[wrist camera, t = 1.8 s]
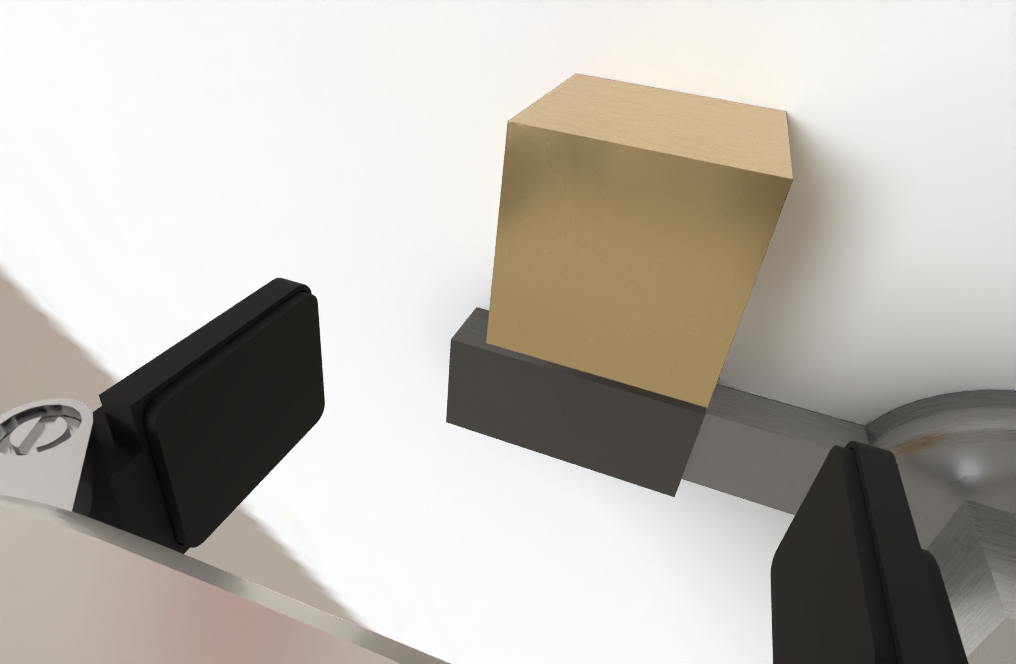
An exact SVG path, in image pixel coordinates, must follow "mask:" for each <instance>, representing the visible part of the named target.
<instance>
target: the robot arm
mask: <svg viewBox="0 0 1016 664" xmlns="http://www.w3.org/2000/svg"><path fill="white" fill-rule="evenodd" d="M99 397H100V400H101V403H102V406H101V407H100V408H98V409H97V410H96V411H94V412H92V411H91V409H90V408H89V407H88V406H87V405H86V404H84V403H81V402H80V401H77V400H72V399H65V398H61V399H60V398H59V399H46V400H40V401H35V402H31V403H28V404H25V405H22V406H19V407H17V408H14V409H12V410H10V411H9V412H6V413H4V414H3V415H1V416H0V664H450V663H447V662H445V661H443V660H440V659H438V658H435V657H433V656H431V655H428V654H426V653H423V652H421V651H418V650H416V649H414V648H411V647H409V646H406V645H404V644H402V643H399V642H397V641H394V640H392V639H389V638H387V637H385V636H382V635H380V634H377V633H375V632H373V631H370V630H368V629H365V628H363V627H360V626H358V625H356V624H353V623H351V622H348V621H346V620H343V619H341V618H338V617H336V616H334V615H331V614H329V613H326V612H324V611H322V610H319V609H317V608H314V607H312V606H309V605H307V604H305V603H302V602H300V601H297V600H295V599H292V598H290V597H288V596H285V595H282V594H280V593H278V592H275V591H273V590H270V589H268V588H265V587H263V586H260V585H258V584H256V583H253V582H251V581H248V580H246V579H243V578H241V577H238V576H236V575H234V574H231V573H228V572H226V571H224V570H221V569H219V568H216V567H214V566H211V565H209V564H206V563H204V562H202V561H199V560H197V559H194V558H192V557H189V556H187V555H184V553H185V552H186V551H187V550H188V549H189V548H190V547H192V548H193V547H197V546H199V545H200V544H202V543H203V542H204V541H205V540H206V539H207V538H208V537H209V536H210V535H211V534H212V533H213V532H214V530H215V529H216V528H217V527H218V526H219V525H220V524H221V523H222V522H223V521H224V520H225V519H226V518H227V517H228V516H229V515H230V514H231V513H232V512H233V510H234V509H235V508H236V507H237V506H238V505H239V504H240V503H241V502H242V501H243V500H244V499H245V498H246V497H247V496H248V495H249V494H250V493H251V491H252V490H253V489H254V488H255V487H256V486H257V485H258V484H259V483H260V482H261V481H262V480H263V479H264V478H265V477H266V476H267V475H268V474H269V473H270V471H271V470H272V469H273V468H274V467H275V466H276V465H277V464H278V463H279V462H280V461H281V460H282V459H283V458H284V457H285V456H286V455H287V454H288V452H289V451H290V450H291V449H292V448H293V447H294V446H295V445H296V444H297V443H298V442H299V441H300V440H301V439H302V438H303V437H304V436H305V435H306V433H307V432H308V431H309V430H310V429H311V428H312V427H313V426H314V425H315V424H316V423H317V422H318V421H319V419H320V418H321V416H322V413H323V411H324V406H325V399H324V385H323V371H322V357H321V342H320V328H319V314H318V302H317V298H316V297H315V296H314V295H312V293H311V290H310V288H309V287H308V286H307V285H304V284H301V283H297V282H294V281H290V280H287V279H283V278H276V279H274V280H272V281H271V282H269V283H268V284H266V285H265V286H263V287H262V288H260V289H259V290H257V291H256V292H254V293H253V294H251V295H249V296H248V297H246V298H245V299H243V300H242V301H240V302H239V303H237V304H236V305H234V306H233V307H231V308H230V309H228V310H227V311H225V312H224V313H222V314H221V315H219V316H218V317H216V318H215V319H213V320H212V321H210V322H209V323H207V324H206V325H204V326H203V327H201V328H200V329H198V330H197V331H195V332H194V333H192V334H191V335H189V336H188V337H186V338H185V339H183V340H182V341H180V342H178V343H177V344H175V345H174V346H172V347H171V348H169V349H168V350H166V351H165V352H163V353H162V354H160V355H159V356H157V357H156V358H154V359H153V360H151V361H150V362H148V363H147V364H145V365H144V366H142V367H141V368H139V369H138V370H136V371H135V372H133V373H132V374H130V375H129V376H127V377H126V378H124V379H123V380H121V381H120V382H118V383H117V384H115V385H114V386H112V387H111V388H109V389H107V390H106V391H105V392H103V393H101V394H100V395H99ZM771 603H772V640H773V664H969V663H968V660H967V657H966V653H965V650H964V647H963V644H962V640H961V637H960V634H959V630H958V627H957V624H956V621H955V617H954V614H953V611H952V608H951V604H950V601H949V598H948V594H947V591H946V588H945V585H944V581H943V578H942V575H941V572H940V568H939V565H938V563H937V561H936V559H935V557H934V556H933V555H932V554H931V553H930V552H929V551H927V550H924V549H921V546H920V543H919V539H918V536H917V532H916V529H915V525H914V522H913V518H912V514H911V511H910V507H909V504H908V500H907V497H906V493H905V490H904V486H903V483H902V479H901V476H900V472H899V469H898V465H897V462H896V458H895V456H894V454H893V453H892V452H891V451H889V450H885V449H882V448H878V447H875V446H871V445H868V444H864V443H861V442H857V441H854V440H853V441H850V442H849V443H847V444H846V446H845V447H841V446H838V445H835V446H834V447H833V448H832V449H831V450H830V452H829V454H828V456H827V458H826V459H825V461H824V463H823V465H822V467H821V469H820V471H819V472H818V474H817V476H816V478H815V480H814V482H813V484H812V485H811V487H810V489H809V491H808V493H807V495H806V497H805V498H804V500H803V502H802V504H801V506H800V508H799V510H798V511H797V513H796V515H795V517H794V519H793V521H792V523H791V524H790V526H789V528H788V530H787V532H786V534H785V536H784V537H783V539H782V541H781V543H780V545H779V547H778V549H777V550H776V553H775V555H774V558H773V561H772V566H771Z"/></svg>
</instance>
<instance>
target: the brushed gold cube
mask: <svg viewBox="0 0 1016 664" xmlns="http://www.w3.org/2000/svg"><path fill="white" fill-rule="evenodd" d="M792 181H793V173H792V164H791V154H790V145H789V135H788V126H787V116H786V111H780V110H775V109H769V108H764V107H758V106H753V105H747V104H742V103H736V102H730V101H725V100H719V99H714V98H708V97H703V96H697V95H692V94H686V93H681V92H675V91H670V90H664V89H658V88H653V87H647V86H642V85H636V84H631V83H625V82H620V81H614V80H609V79H603V78H598V77H592V76H587V75H581V74H574V75H573V76H572V77H570V78H569V79H567V80H566V81H564V82H563V83H562V84H560V85H559V86H557V87H556V88H554V89H553V90H552V91H550V92H549V93H547V94H546V95H544V96H543V97H542V98H540V99H539V100H537V101H536V102H534V103H533V104H532V105H530V106H529V107H527V108H526V109H524V110H523V111H522V112H520V113H519V114H517V115H516V116H514V117H513V118H512V119H510V120H509V121H508V125H507V135H506V145H505V155H504V165H503V176H502V186H501V196H500V206H499V217H498V227H497V237H496V247H495V258H494V268H493V278H492V288H491V298H490V309H489V319H488V329H487V339H486V343H488V344H491V345H495V346H498V347H502V348H505V349H509V350H512V351H515V352H519V353H522V354H526V355H529V356H532V357H536V358H539V359H543V360H546V361H550V362H553V363H556V364H560V365H563V366H567V367H570V368H573V369H577V370H580V371H584V372H587V373H591V374H594V375H597V376H601V377H604V378H608V379H611V380H614V381H618V382H621V383H625V384H628V385H632V386H635V387H638V388H642V389H645V390H649V391H652V392H655V393H659V394H662V395H666V396H669V397H673V398H676V399H679V400H683V401H686V402H690V403H693V404H697V405H700V406H703V407H708V405H709V402H710V399H711V397H712V394H713V391H714V389H715V386H716V383H717V381H718V378H719V375H720V373H721V370H722V367H723V365H724V362H725V359H726V357H727V354H728V351H729V349H730V346H731V343H732V341H733V338H734V335H735V333H736V330H737V327H738V325H739V322H740V319H741V317H742V314H743V311H744V309H745V306H746V303H747V301H748V298H749V295H750V293H751V290H752V287H753V285H754V282H755V279H756V277H757V274H758V271H759V269H760V266H761V263H762V261H763V258H764V255H765V253H766V250H767V247H768V245H769V242H770V240H771V237H772V234H773V232H774V229H775V226H776V224H777V221H778V218H779V216H780V213H781V210H782V208H783V205H784V202H785V200H786V197H787V194H788V192H789V189H790V186H791V184H792Z"/></svg>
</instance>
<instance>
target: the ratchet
mask: <svg viewBox="0 0 1016 664" xmlns="http://www.w3.org/2000/svg"><path fill="white" fill-rule="evenodd" d="M488 319H489V311H487V310H483V309H480V308H476V309H475V310H474V311H473V312H472V314H471V315H470V316H469V317H468V319H467V320H466V321H465V322H464V324H463V325H462V326H461V327H460V329H459V330H458V331H457V333H456V334H455V335H454V336H453V338H452V339H451V348H450V365H449V383H448V400H447V417H446V422H447V423H450V424H453V425H457V426H460V427H463V428H466V429H469V430H472V431H475V432H478V433H481V434H484V435H487V436H490V437H493V438H496V439H499V440H502V441H505V442H508V443H511V444H514V445H517V446H520V447H523V448H526V449H530V450H533V451H536V452H539V453H542V454H545V455H548V456H551V457H554V458H557V459H560V460H563V461H566V462H569V463H572V464H575V465H578V466H581V467H584V468H587V469H590V470H593V471H596V472H599V473H603V474H606V475H609V476H612V477H615V478H618V479H621V480H624V481H627V482H630V483H633V484H636V485H639V486H642V487H645V488H648V489H651V490H654V491H657V492H660V493H663V494H666V495H669V496H672V497H675V494H676V492H677V489H678V486H679V484H680V481H681V479H684V480H687V481H690V482H693V483H696V484H699V485H703V486H706V487H709V488H712V489H715V490H718V491H721V492H724V493H727V494H731V495H734V496H737V497H740V498H743V499H746V500H749V501H752V502H756V503H759V504H762V505H765V506H768V507H771V508H774V509H777V510H780V511H784V512H787V513H790V514H793V515H796V513H797V511H798V510H799V508H800V506H801V504H802V502H803V500H804V498H805V497H806V495H807V493H808V491H809V489H810V487H811V485H812V484H813V482H814V480H815V478H816V476H817V474H818V472H819V471H820V469H821V467H822V465H823V463H824V461H825V459H826V458H827V456H828V454H829V452H830V450H831V449H832V448H833V447H834V446H835V445H838V446H841V447H845V446H846V444H847V443H849V442H850V441H853V440H854V441H857V442H861V443H864V444H868V445H871V446H875V447H878V448H882V449H885V450H889V451H891V452H892V453H893V454H894V456H895V458H896V462H897V465H898V469H899V472H900V476H901V479H902V483H903V486H904V490H905V493H906V497H907V500H908V504H909V507H910V511H911V514H912V518H913V522H914V525H915V529H916V532H917V536H918V539H919V543H920V546H921V549H924V550H927V551H929V552H930V553H931V554H932V555H933V556H934V557H935V559H936V561H937V563H938V565H939V568H940V572H941V575H942V578H943V581H944V585H945V588H946V591H947V594H948V598H949V601H950V604H951V608H952V611H953V614H954V617H955V621H956V624H957V627H958V630H959V634H960V637H961V640H962V644H963V647H964V650H965V653H966V657H967V660H968V663H969V664H1016V391H1011V390H978V391H963V392H957V393H950V394H944V395H939V396H935V397H931V398H927V399H923V400H919V401H916V402H913V403H910V404H908V405H905V406H902V407H900V408H897V409H895V410H893V411H891V412H889V413H887V414H885V415H883V416H881V417H879V418H878V419H876V420H875V421H873V422H871V423H870V424H868V425H867V426H866V427H865V426H862V425H858V424H855V423H851V422H847V421H844V420H840V419H837V418H833V417H830V416H826V415H823V414H819V413H816V412H812V411H809V410H805V409H802V408H798V407H795V406H791V405H787V404H784V403H780V402H777V401H773V400H770V399H766V398H763V397H759V396H756V395H752V394H749V393H745V392H742V391H738V390H735V389H731V388H727V387H724V386H720V385H717V384H716V386H715V389H714V391H713V394H712V397H711V399H710V402H709V405H708V407H703V406H700V405H697V404H693V403H690V402H686V401H683V400H679V399H676V398H673V397H669V396H666V395H662V394H659V393H655V392H652V391H649V390H645V389H642V388H638V387H635V386H632V385H628V384H625V383H621V382H618V381H614V380H611V379H608V378H604V377H601V376H597V375H594V374H591V373H587V372H584V371H580V370H577V369H573V368H570V367H567V366H563V365H560V364H556V363H553V362H550V361H546V360H543V359H539V358H536V357H532V356H529V355H526V354H522V353H519V352H515V351H512V350H509V349H505V348H502V347H498V346H495V345H491V344H488V343H486V339H487V329H488Z"/></svg>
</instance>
